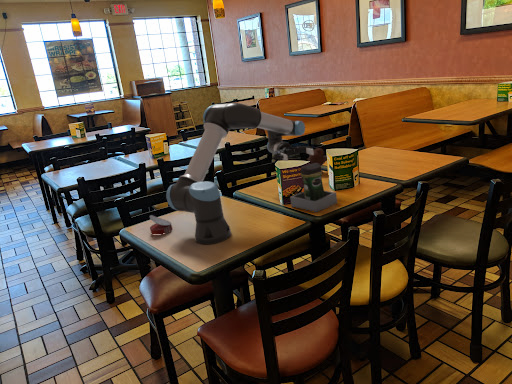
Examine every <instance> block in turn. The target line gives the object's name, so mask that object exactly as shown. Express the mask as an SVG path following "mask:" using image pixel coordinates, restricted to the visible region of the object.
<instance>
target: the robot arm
mask: <svg viewBox="0 0 512 384" xmlns="http://www.w3.org/2000/svg"><path fill="white" fill-rule="evenodd" d="M202 119H203V122H202V123H203V129H204V132H203V134H202V136H201V138H200V140H199V142H198V145H197V146H196V148H195V151H194V153H193V155H192V157H191V159H190V161H189V164H188V166H187V168H186V170H185V173H184V174H183V175H179V177H178V179H177V181H176V183H173V184H170V185H169V186H168V188H167V190H166V193H165V194H166V195H165V196H166V200H167V204H168V206H170V208H171V209H173V210H175V211H178V212H186V213H192V214H194V217H195V222H196V223H195V232H194V239H195V242H196V243H198V244H199V243H200V245H212V244H217V243H221V242H223V241H226V240H227V239H228V238H230V237H231V235H232V231H231V227H230V225H229V224H228V222H227V220H226V219H225V216H224V211H223V205H222V201H221V199H222V198H221V193H220V190H219V186H218V185H217V184H216V183H215V182H213V181H210V180H209V181H208V180H207V181H205V178H206V175H207V173H208V171H209V168H210V166H211V164H212V162H213V160H214V157H215V154H216V153H217V150H218V148H219V146H220V143H221V141H222V140H223V139H225V138H226V137H227V136H228V134H229V132H230V130H237V129H239V130H240V129H252V130H255V129H257V128H258V129H262V130H265V131H266V133H267V139H268V142H267V144H266V147H267V150H268V152H269V153H271V154H273V158H274V160H278V161H282V160H283V161H289V157H290V156H291V155H297V154H303V153H304V154H305V153H306V154H308V155H314V149H313V147H312V146H310V145H307V146H301V145H297V146H292V145H291V144H290V143H288V142H284V141H283V137H286V136H287V137H291V136H293V137H295V136H296V137H297V136H298V137H299V136H303V135H304V133H305V131H306V125H305V122H303V120H291V119H287V118H284V117H281V116H276V115H274V114H270V113H266V112H263V111H261V110H260V109H259V108H257V107H254V106H250V105H248V104H243V103H239V102H228V103H216V104H212V105H209V106H208V107H207V108H206V109H205V110H204V112H203V116H202Z"/></svg>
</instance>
